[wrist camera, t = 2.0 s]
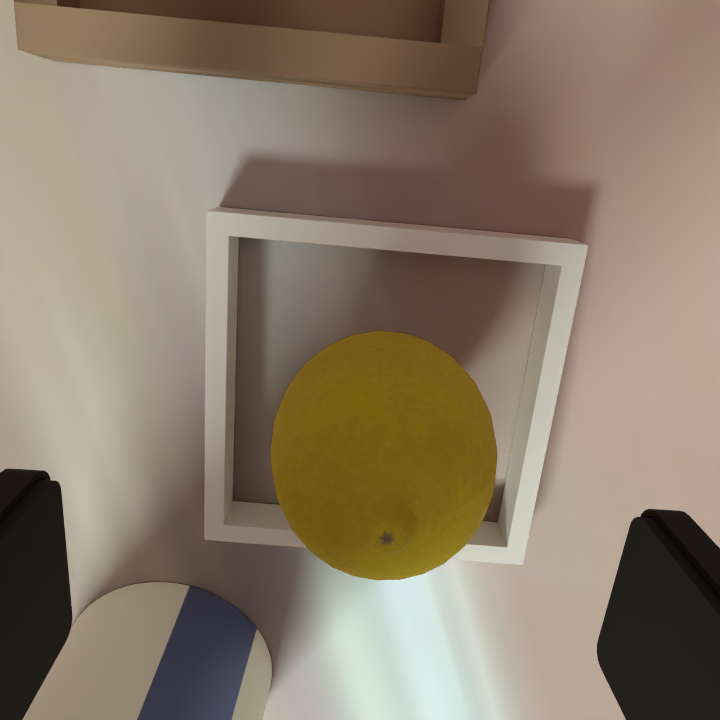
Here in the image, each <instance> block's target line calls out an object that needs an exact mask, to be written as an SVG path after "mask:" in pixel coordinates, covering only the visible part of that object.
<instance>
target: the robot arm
mask: <svg viewBox="0 0 720 720" xmlns="http://www.w3.org/2000/svg"><path fill="white" fill-rule="evenodd" d="M71 625H72V607H71V595H70V584H69V573H68V562H67V551H66V539H65V528H64V517H63V506H62V495H61V487H60V484H59V482H57V481H51V480H50V477H49V475H48V473H47V472H45V471H39V470H23V469H5V470H4V471H2V472H1V473H0V720H22V719H23V718H24V716H25V714H26V712H27V711H28V709H29V707H30V705H31V703H32V702H33V700H34V698H35V696H36V694H37V693H38V691H39V689H40V687H41V685H42V684H43V682H44V680H45V678H46V677H47V675H48V673H49V671H50V669H51V668H52V666H53V664H54V662H55V660H56V659H57V657H58V655H59V653H60V652H61V650H62V648H63V646H64V644H65V643H66V641H67V638H68V636H69V633H70V629H71ZM597 656H598V661H599V664H600V667H601V669H602V671H603V673H604V675H605V678H606V680H607V682H608V684H609V686H610V688H611V690H612V692H613V694H614V696H615V698H616V700H617V702H618V704H619V706H620V708H621V710H622V712H623V714H624V716H625V718H626V720H720V548H719V547H718V546H717V545H716V544H715V543H714V542H713V541H712V540H711V539H710V538H709V537H708V535H707V534H706V533H705V532H704V531H703V530H702V529H701V528H700V527H699V526H698V525H697V524H696V523H695V521H694V520H693V519H692V518H691V517H690V516H689V515H688V514H686V513H685V512H682V511H673V510H657V509H648V510H645V511H644V512H643V513H642V514H641V517H636V518H634V519H633V520H632V522H631V525H630V528H629V531H628V535H627V538H626V542H625V546H624V549H623V553H622V556H621V560H620V564H619V567H618V571H617V574H616V578H615V581H614V585H613V589H612V592H611V596H610V599H609V603H608V607H607V610H606V614H605V617H604V621H603V624H602V628H601V632H600V635H599V639H598V643H597Z"/></svg>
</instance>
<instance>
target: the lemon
mask: <svg viewBox="0 0 720 720" xmlns="http://www.w3.org/2000/svg"><path fill="white" fill-rule="evenodd" d="M270 457H271V467H272V473H273V479H274V485H275V490H276V495H277V499H278V502H279V504H280V506H281V508H282V510H283V513H284V515H285V517H286V519H287V521H288V523H289V525H290V527H291V528H292V530H293V532H294V533H295V534H296V535H297V536H298V538H299V539H300V540H301V541H302V542H303V543H304V545H305V546H306V547H307V548H308V549H309V550H310V551H311V552H312V553H314V554H315V555H316V556H318V557H319V558H320V559H322V560H323V561H325V562H326V563H327V564H329V565H330V566H331V567H333V568H336V569H338V570H340V571H343V572H345V573H348V574H350V575H353V576H357V577H362V578H368V579H373V580H400V579H404V578H408V577H412V576H416V575H420V574H424V573H426V572H428V571H430V570H432V569H434V568H436V567H438V566H440V565H442V564H444V563H445V562H447V561H448V560H449V559H450V558H452V557H453V556H454V555H455V554H456V553H458V552H459V551H460V550H461V549H462V548H463V547H464V546H466V544H467V543H468V542H469V540H470V539H471V538H472V536H473V535H474V534H475V532H476V531H477V530H478V528H479V527H480V526H481V523H482V521H483V519H484V516H485V514H486V511H487V509H488V506H489V504H490V501H491V499H492V496H493V491H494V485H495V475H496V465H497V446H496V440H495V435H494V430H493V424H492V419H491V415H490V412H489V409H488V407H487V405H486V403H485V401H484V399H483V397H482V395H481V393H480V391H479V389H478V387H477V385H476V383H475V382H474V380H473V379H472V378H471V377H470V376H469V375H468V373H467V372H466V371H465V370H464V369H463V368H462V367H461V366H460V364H459V363H458V362H457V361H456V360H455V359H454V358H453V357H452V356H450V355H449V354H447V353H446V352H444V351H443V350H441V349H440V348H438V347H437V346H435V345H434V344H432V343H431V342H429V341H427V340H424V339H421V338H418V337H415V336H412V335H409V334H406V333H400V332H388V331H372V332H366V333H360V334H354V335H351V336H349V337H346V338H344V339H342V340H339V341H337V342H335V343H332V344H330V345H328V346H327V347H326V348H324V349H323V350H322V351H320V352H319V353H318V354H316V355H315V356H314V357H313V358H311V359H310V360H309V361H308V362H306V363H305V365H304V366H303V367H302V369H301V370H300V371H299V372H298V374H297V375H296V376H295V378H294V379H293V380H292V381H291V383H290V384H289V386H288V387H287V389H286V391H285V394H284V396H283V399H282V401H281V404H280V406H279V409H278V411H277V414H276V416H275V420H274V425H273V434H272V443H271V455H270Z"/></svg>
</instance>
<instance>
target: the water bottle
mask: <svg viewBox="0 0 720 720" xmlns="http://www.w3.org/2000/svg"><path fill="white" fill-rule="evenodd" d="M271 681H272V663H271V657H270V653H269V650H268V647H267V645H266V643H265V641H264V639H263V637H262V635H261V634H260V632H259V631H258V629H257V628H256V626H255V625H254V624H253V623H252V622H251V621H250V619H249V618H248V617H247V616H246V615H245V614H243V613H242V612H241V611H240V610H239V609H237V608H236V607H235V606H233V605H232V604H230V603H229V602H227V601H226V600H224V599H222V598H220V597H218V596H216V595H214V594H212V593H210V592H207V591H205V590H202V589H199V588H196V587H192V586H188V585H183V584H177V583H168V582H148V583H140V584H134V585H129V586H126V587H122V588H119V589H116V590H114V591H112V592H109V593H107V594H105V595H104V596H102V597H100V598H99V599H97V600H96V601H94V602H93V603H92V604H90V605H89V606H88V607H87V608H86V609H85V610H84V611H83V612H82V613H81V615H80V616H79V617H78V619H77V620H76V622H75V623H74V625H73V627H72V629H71V630H70V633H69V636H68V638H67V641H66V643H65V644H64V646H63V648H62V650H61V652H60V653H59V655H58V657H57V659H56V660H55V662H54V664H53V666H52V668H51V669H50V671H49V673H48V675H47V677H46V678H45V680H44V682H43V684H42V685H41V687H40V689H39V691H38V693H37V695H36V697H35V698H34V700H33V702H32V704H31V706H30V708H29V709H28V711H27V713H26V715H25V717H24V719H23V720H262V719H263V715H264V711H265V707H266V703H267V699H268V694H269V690H270V686H271Z"/></svg>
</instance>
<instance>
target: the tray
mask: <svg viewBox="0 0 720 720" xmlns="http://www.w3.org/2000/svg"><path fill="white" fill-rule="evenodd" d="M488 5H489V0H14V8H15V20H16V32H17V44H18V50H21V51H24V52H27V53H31V54H34V55H37V56H40V57H43V58H46V59H50V60H53V61H59V62H70V63H80V64H91V65H101V66H112V67H122V68H133V69H143V70H154V71H165V72H175V73H186V74H196V75H207V76H217V77H228V78H238V79H249V80H259V81H270V82H281V83H291V84H302V85H312V86H323V87H333V88H344V89H354V90H365V91H375V92H386V93H397V94H407V95H418V96H428V97H439V98H449V99H460V100H465V99H467V98H469V97H471V96H472V95H474V94H476V92H477V85H478V78H479V70H480V63H481V56H482V48H483V41H484V34H485V26H486V19H487V12H488Z"/></svg>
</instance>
